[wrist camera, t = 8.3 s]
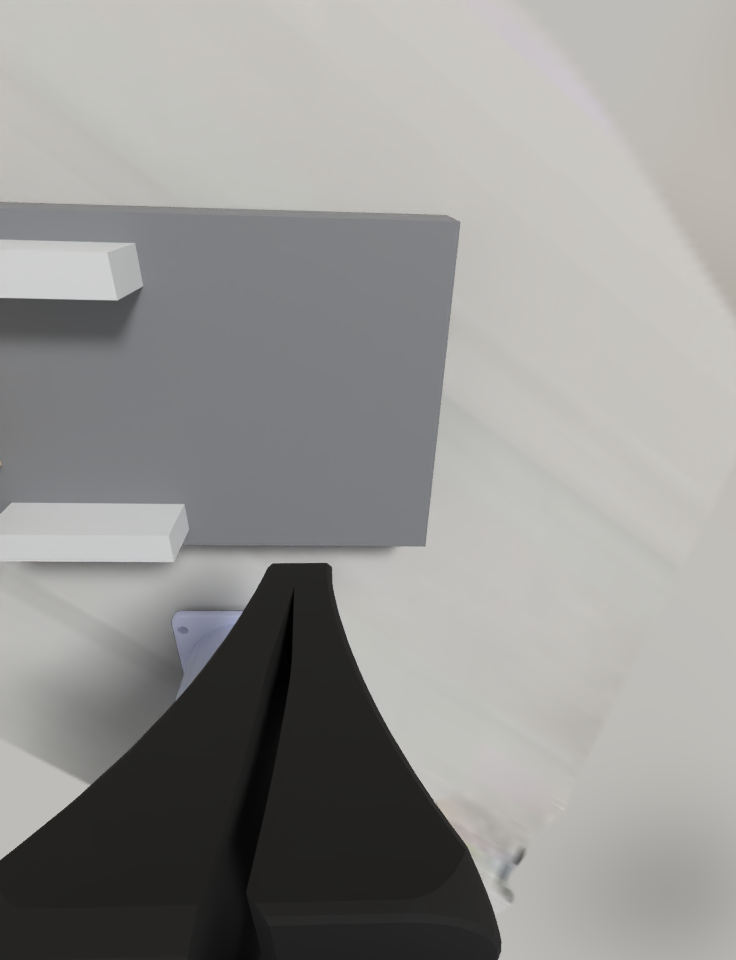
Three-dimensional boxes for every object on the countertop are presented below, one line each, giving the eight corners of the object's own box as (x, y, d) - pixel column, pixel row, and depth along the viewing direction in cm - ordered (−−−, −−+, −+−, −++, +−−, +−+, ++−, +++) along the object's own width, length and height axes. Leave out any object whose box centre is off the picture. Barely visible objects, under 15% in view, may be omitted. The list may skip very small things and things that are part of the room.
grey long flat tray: (418, 511, 23) (431, 579, 19) (-224, 506, 22) (-344, 577, 18) (446, 215, 17) (474, 228, 13) (-441, 189, 16) (-691, 196, 12)
